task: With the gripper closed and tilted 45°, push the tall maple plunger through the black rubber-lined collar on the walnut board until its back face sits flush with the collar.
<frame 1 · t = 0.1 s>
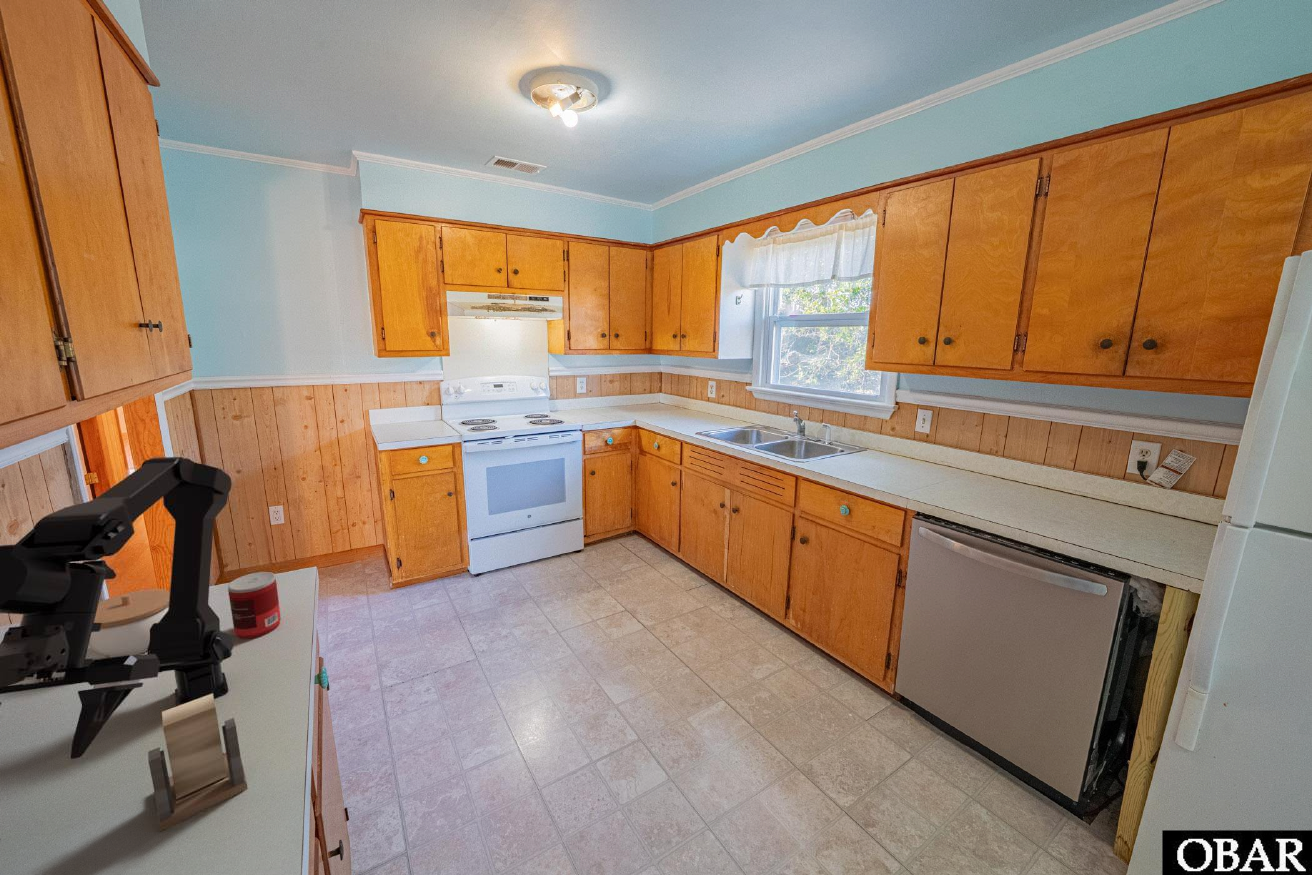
hand: (20, 767, 53), 15 cm above the worktop, tool tilted 35°, fingers open, 9 cm apart
lidded bowl: (135, 647, 97), on the worktop
band collar: (205, 803, 66), on the worktop
maple plunger: (195, 744, 66), point 7 cm above the worktop, slide at 4.0 cm
canned food: (258, 629, 104), on the worktop
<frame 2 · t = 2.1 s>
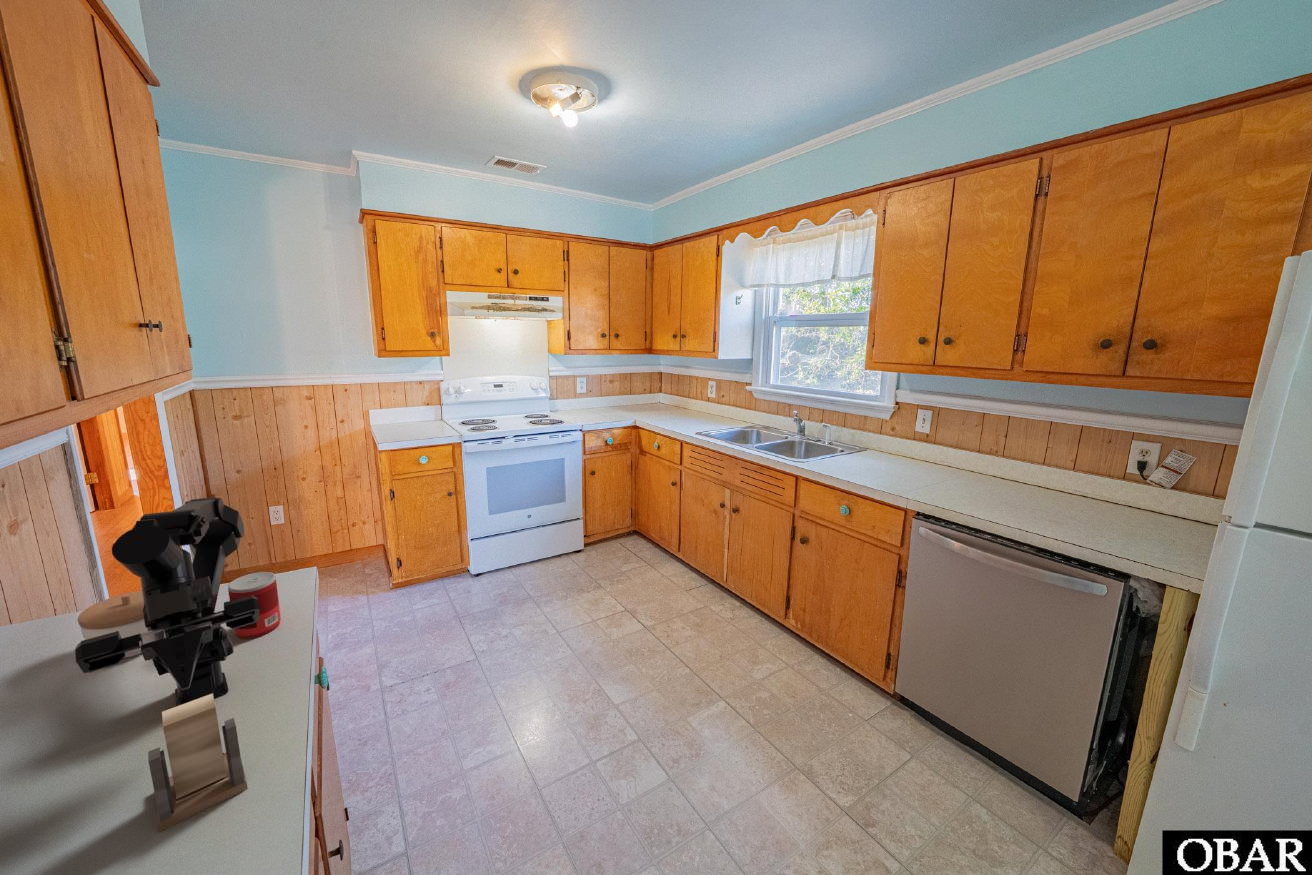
hand: (185, 688, 69), 13 cm above the worktop, tool tilted 45°, fingers closed
nothing on the worktop moved.
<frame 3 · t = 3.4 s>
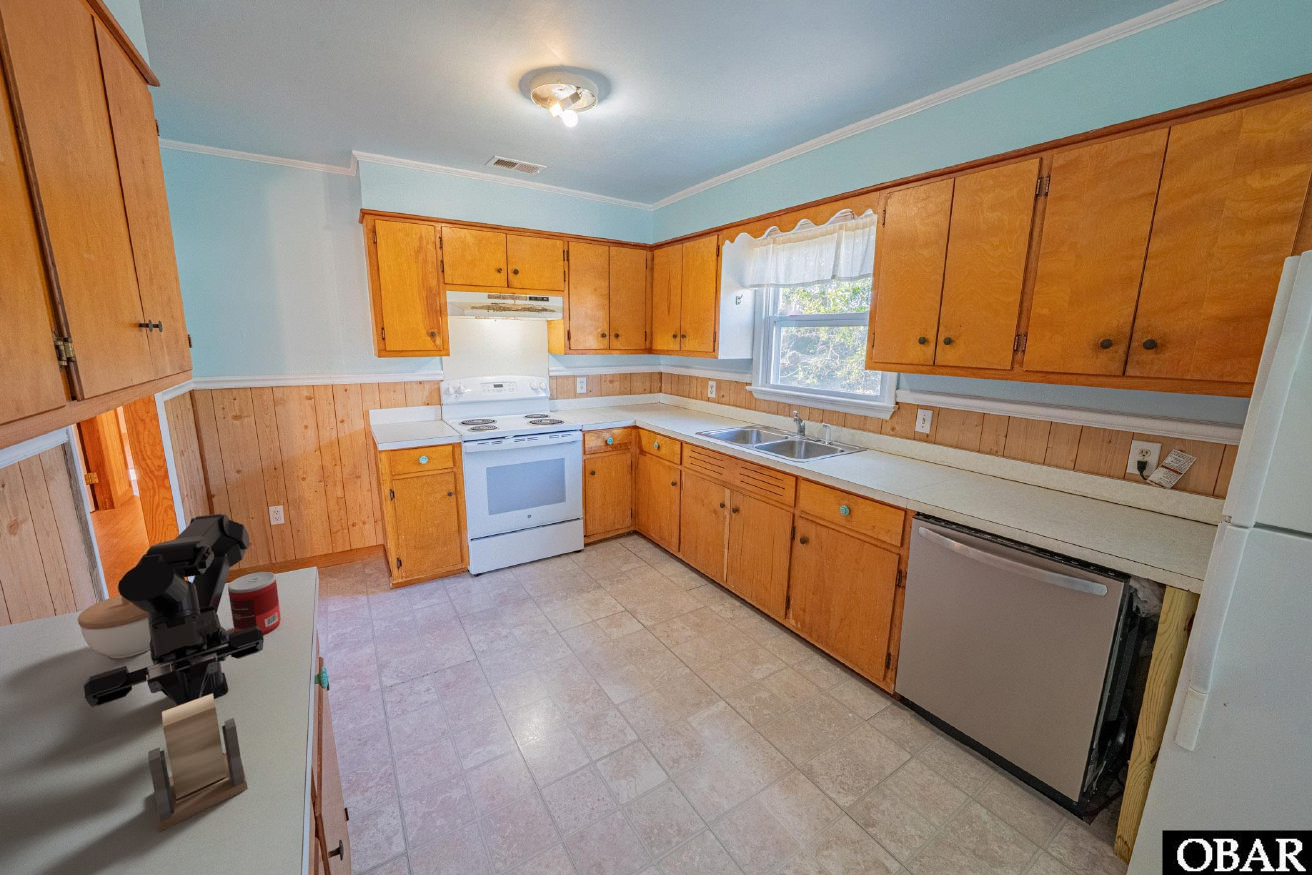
hand: (191, 720, 70), 7 cm above the worktop, tool tilted 45°, fingers closed
nothing on the worktop moved.
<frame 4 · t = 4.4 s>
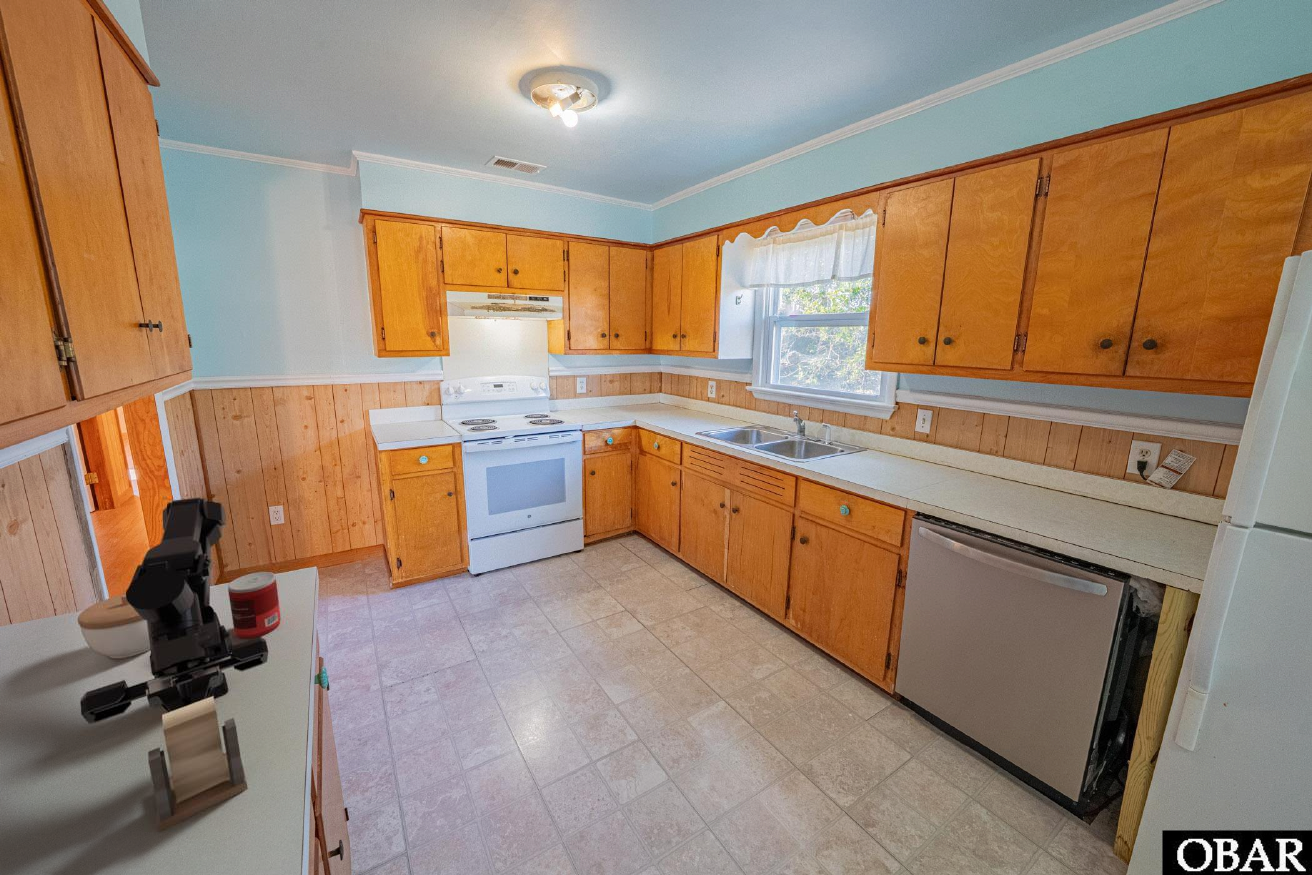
hand: (193, 737, 67), 7 cm above the worktop, tool tilted 45°, fingers closed, pressing on maple plunger
maple plunger: (195, 747, 66), point 7 cm above the worktop, slide at 3.3 cm, touching gripper
everything else where it was.
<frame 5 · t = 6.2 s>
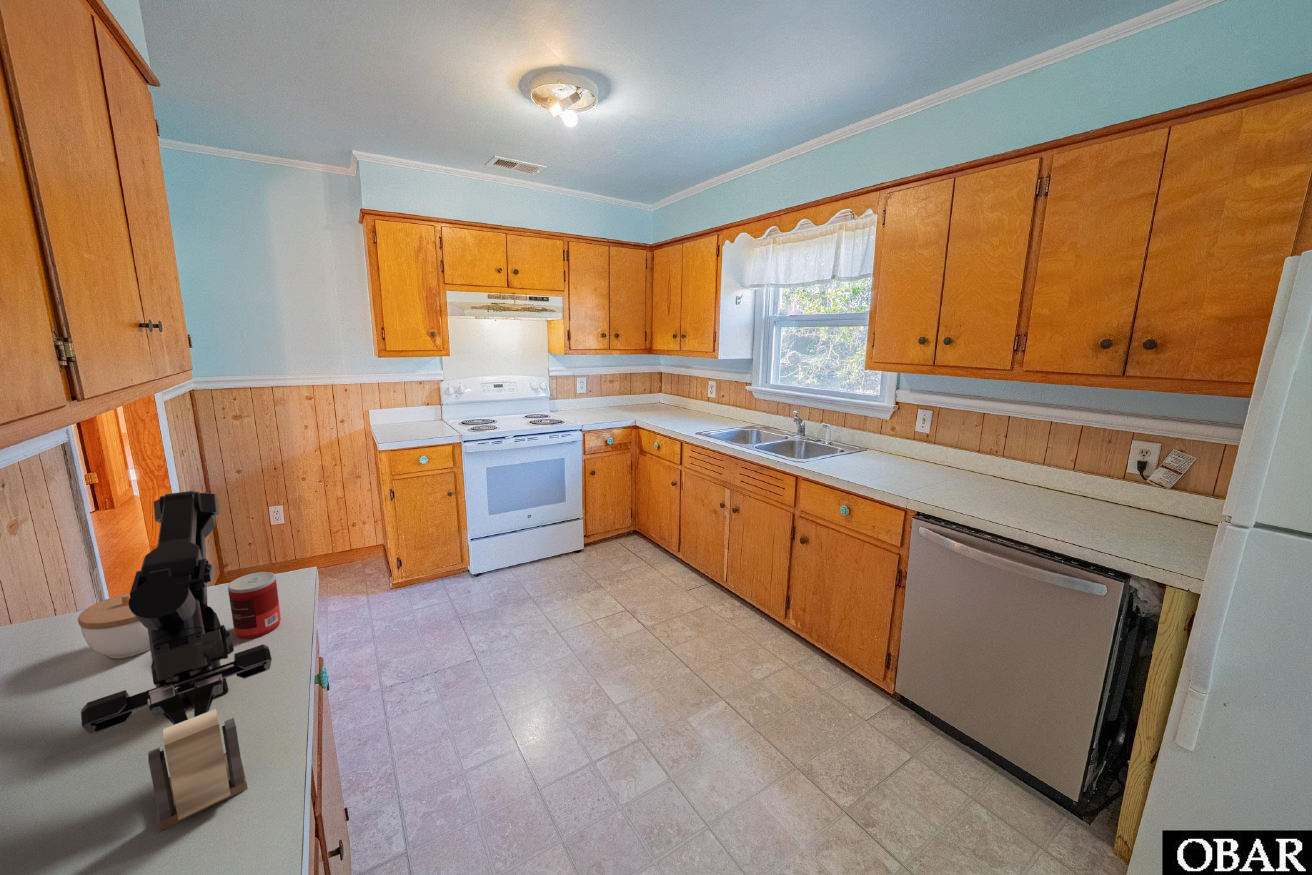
hand: (196, 747, 66), 7 cm above the worktop, tool tilted 45°, fingers closed
maple plunger: (197, 762, 64), point 7 cm above the worktop, slide at 0.0 cm
everything else where it was.
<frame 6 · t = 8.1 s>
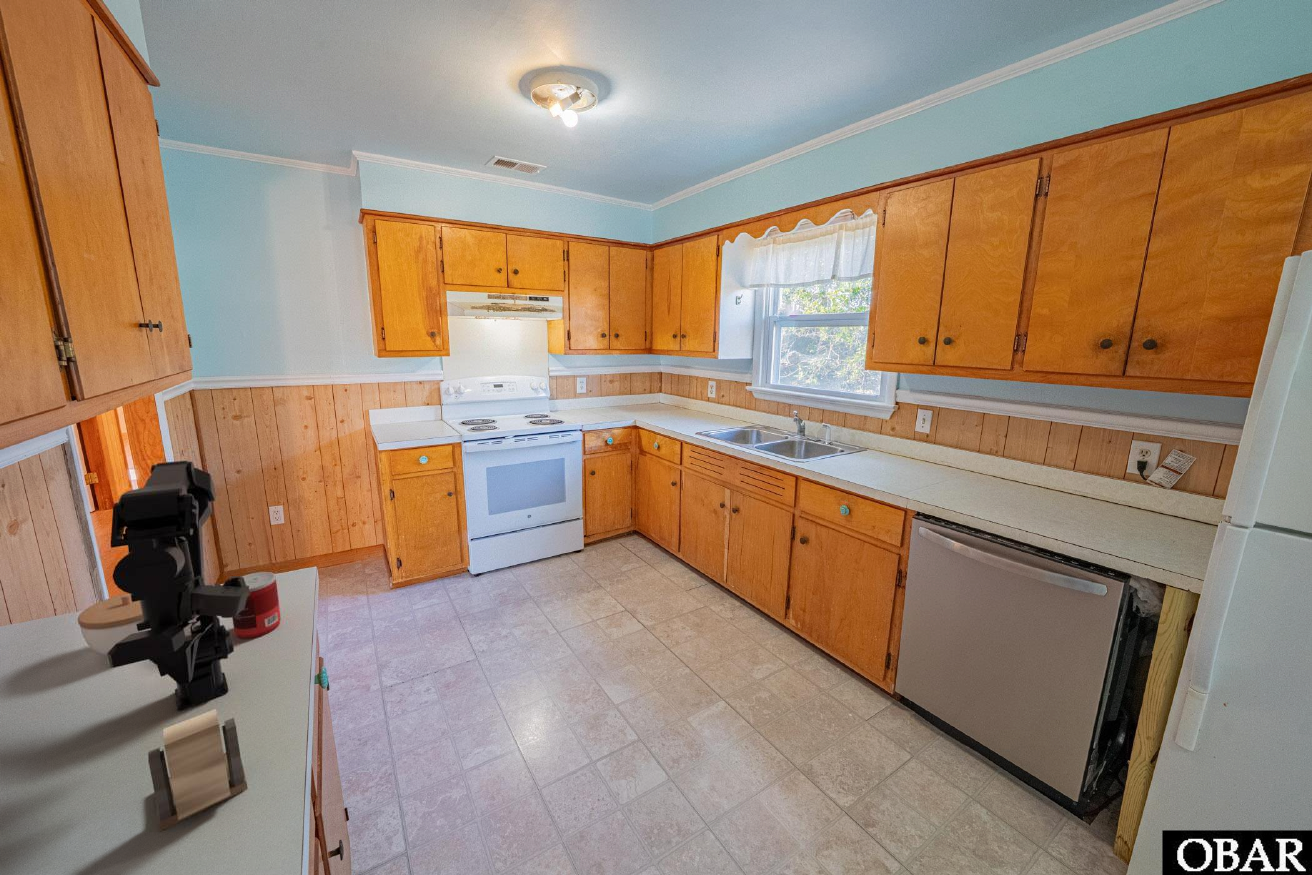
hand: (185, 682, 71), 12 cm above the worktop, tool pointing down, fingers closed
nothing on the worktop moved.
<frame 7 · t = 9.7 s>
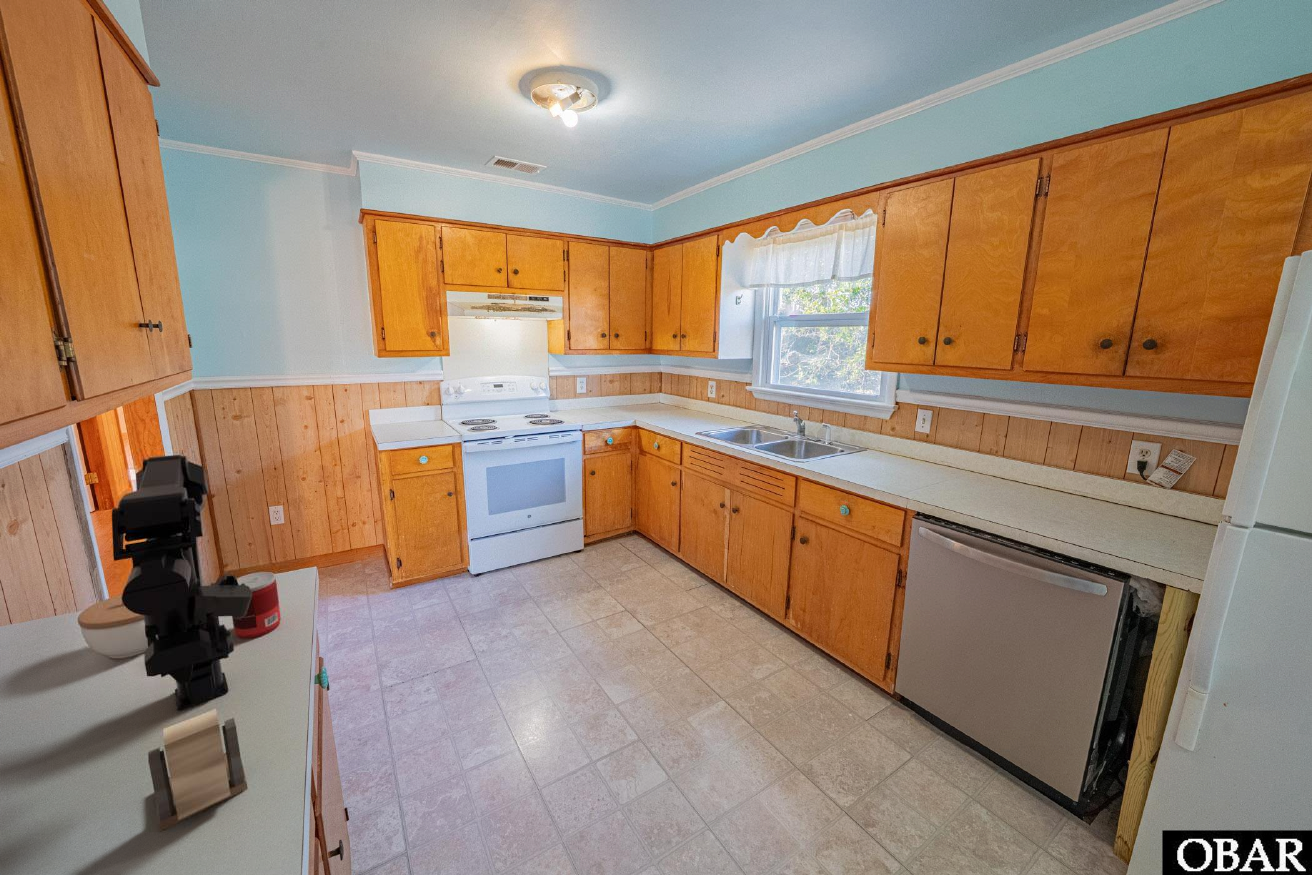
hand: (185, 681, 71), 12 cm above the worktop, tool pointing down, fingers closed
nothing on the worktop moved.
at the end: maple plunger slide at 0.0 cm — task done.
